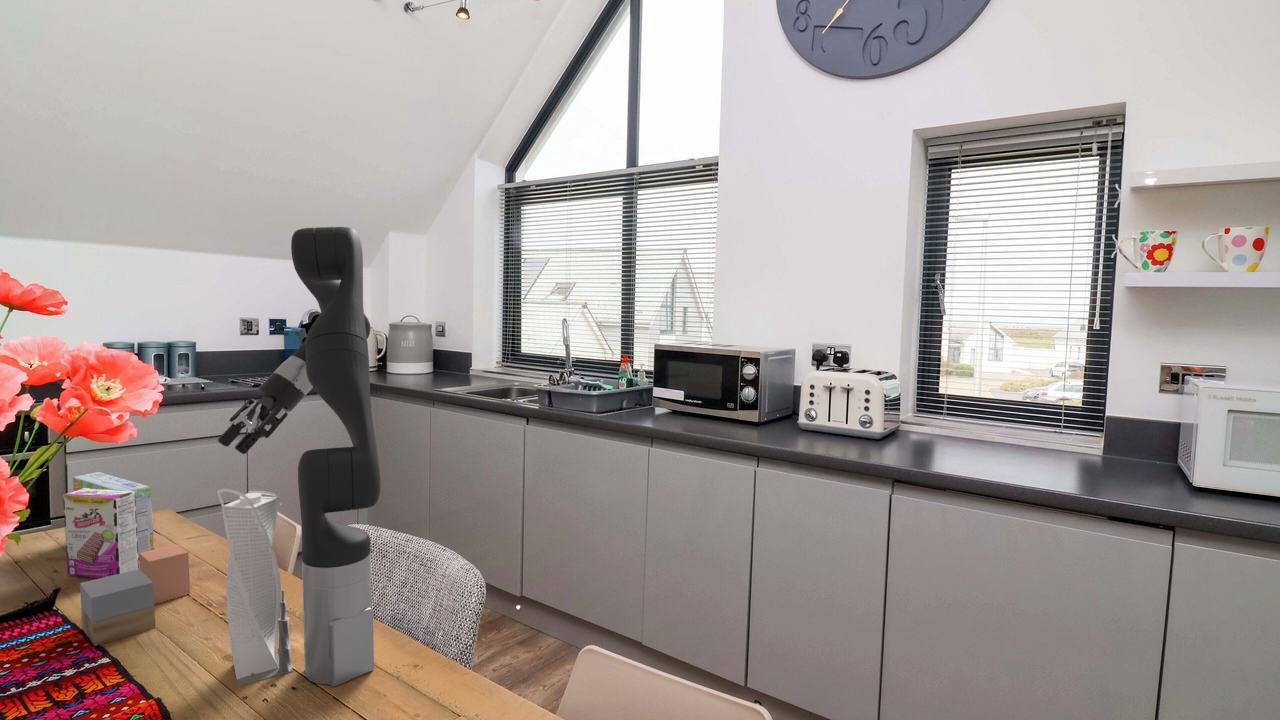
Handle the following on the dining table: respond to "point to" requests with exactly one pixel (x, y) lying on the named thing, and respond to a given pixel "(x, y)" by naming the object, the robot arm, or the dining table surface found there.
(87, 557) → the candy bar box
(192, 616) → the dining table surface
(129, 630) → the walnut block
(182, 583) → the salmon orange block
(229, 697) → the dining table surface
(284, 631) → the twisted tower model
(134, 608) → the gray block
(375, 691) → the dining table surface
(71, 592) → the dining table surface
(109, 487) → the snack box
